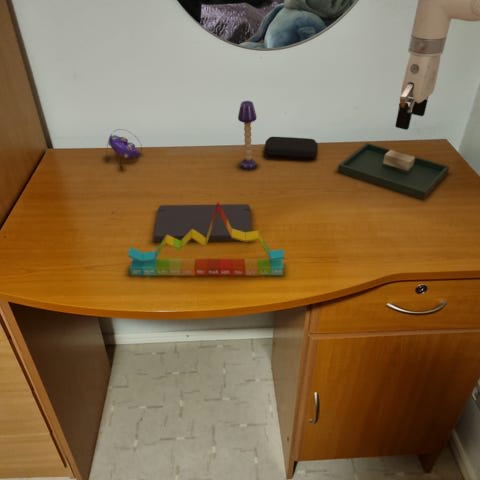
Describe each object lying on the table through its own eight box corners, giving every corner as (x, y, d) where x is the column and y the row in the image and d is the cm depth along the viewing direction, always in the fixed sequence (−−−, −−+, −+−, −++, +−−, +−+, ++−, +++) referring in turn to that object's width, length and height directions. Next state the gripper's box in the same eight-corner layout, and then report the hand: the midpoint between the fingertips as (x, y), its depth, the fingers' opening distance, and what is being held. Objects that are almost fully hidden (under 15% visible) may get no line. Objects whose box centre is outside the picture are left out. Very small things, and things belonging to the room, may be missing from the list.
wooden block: (412, 169, 127) (415, 156, 125) (406, 174, 125) (410, 161, 123) (387, 162, 130) (390, 149, 128) (382, 166, 128) (384, 154, 126)
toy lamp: (243, 171, 128) (243, 107, 116) (235, 164, 130) (234, 101, 119) (259, 167, 129) (261, 103, 118) (250, 160, 132) (251, 97, 120)
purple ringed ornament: (152, 143, 131) (126, 149, 124) (145, 169, 136) (120, 176, 129) (125, 123, 133) (99, 129, 126) (119, 150, 138) (93, 156, 131)
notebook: (154, 242, 105) (251, 240, 105) (153, 236, 104) (251, 234, 104) (159, 210, 114) (249, 209, 114) (158, 205, 113) (249, 204, 113)
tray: (447, 173, 127) (449, 166, 125) (423, 200, 117) (425, 192, 116) (365, 149, 137) (367, 142, 136) (337, 172, 127) (338, 164, 126)
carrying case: (317, 145, 139) (266, 142, 140) (318, 135, 137) (266, 132, 138) (316, 162, 131) (262, 159, 133) (317, 152, 129) (263, 148, 130)
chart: (131, 276, 96) (118, 210, 86) (133, 266, 99) (121, 201, 88) (282, 276, 96) (288, 210, 86) (281, 266, 99) (287, 201, 88)
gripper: (428, 57, 101) (410, 137, 113) (456, 37, 111) (437, 113, 123) (395, 51, 104) (380, 130, 116) (425, 33, 114) (409, 107, 126)
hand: (409, 121), depth 119 cm, fingers open, 9 cm apart
